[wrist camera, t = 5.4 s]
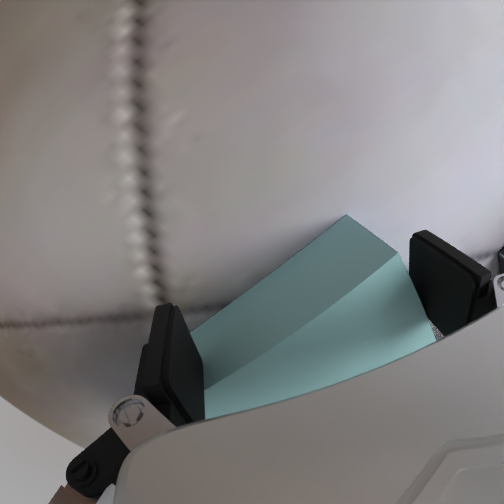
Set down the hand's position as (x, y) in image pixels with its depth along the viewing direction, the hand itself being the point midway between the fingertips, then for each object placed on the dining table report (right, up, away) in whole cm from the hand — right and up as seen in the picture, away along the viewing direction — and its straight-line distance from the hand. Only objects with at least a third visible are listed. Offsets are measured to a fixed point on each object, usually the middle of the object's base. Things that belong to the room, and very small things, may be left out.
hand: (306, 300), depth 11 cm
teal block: (0, -3, +4) cm, 5 cm away
